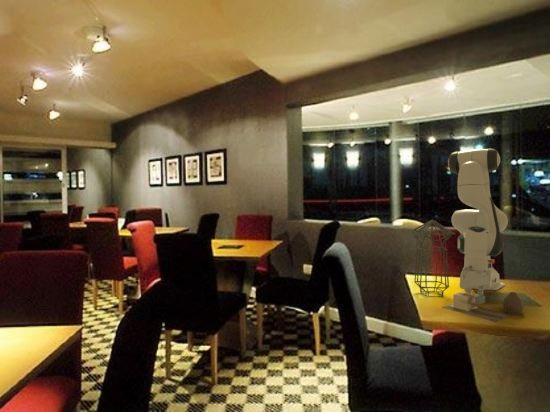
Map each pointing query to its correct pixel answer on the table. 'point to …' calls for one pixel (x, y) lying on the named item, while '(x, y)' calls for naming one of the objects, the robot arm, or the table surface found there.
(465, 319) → the table surface
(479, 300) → the top block
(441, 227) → the geometric lantern
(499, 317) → the board
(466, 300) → the block
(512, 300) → the vase
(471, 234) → the robot arm
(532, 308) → the table surface
